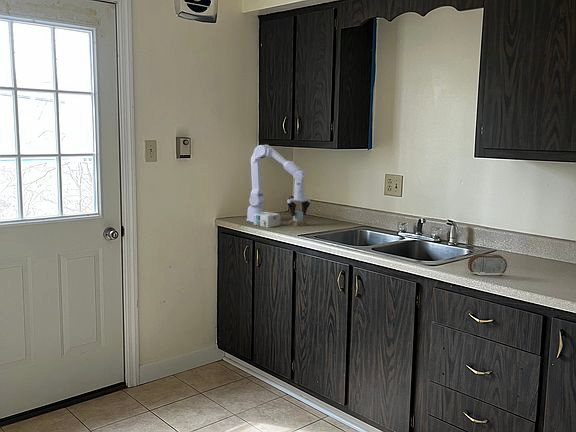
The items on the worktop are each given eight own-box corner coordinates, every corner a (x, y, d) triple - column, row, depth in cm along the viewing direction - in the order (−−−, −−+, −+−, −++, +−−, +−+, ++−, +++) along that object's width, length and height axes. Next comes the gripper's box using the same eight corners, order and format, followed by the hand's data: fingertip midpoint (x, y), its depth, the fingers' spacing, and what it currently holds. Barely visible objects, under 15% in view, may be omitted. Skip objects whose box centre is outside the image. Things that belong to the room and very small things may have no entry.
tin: (503, 274, 239) (505, 254, 238) (507, 276, 236) (509, 255, 235) (466, 273, 239) (468, 253, 237) (469, 275, 236) (471, 254, 234)
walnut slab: (289, 225, 340) (289, 220, 339) (299, 224, 344) (299, 219, 343) (296, 227, 334) (296, 222, 333) (306, 226, 338) (306, 221, 337)
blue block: (292, 220, 339) (293, 211, 338) (298, 219, 341) (298, 211, 341) (297, 221, 336) (297, 212, 335) (302, 220, 338) (303, 212, 337)
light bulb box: (268, 215, 326) (253, 213, 333) (267, 228, 327) (253, 225, 334) (280, 213, 334) (266, 211, 341) (280, 225, 335) (266, 222, 342)
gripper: (292, 192, 328) (292, 217, 330) (313, 191, 337) (313, 215, 339) (285, 191, 334) (284, 215, 336) (306, 190, 342) (305, 213, 344)
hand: (298, 215), depth 338 cm, fingers open, 7 cm apart
